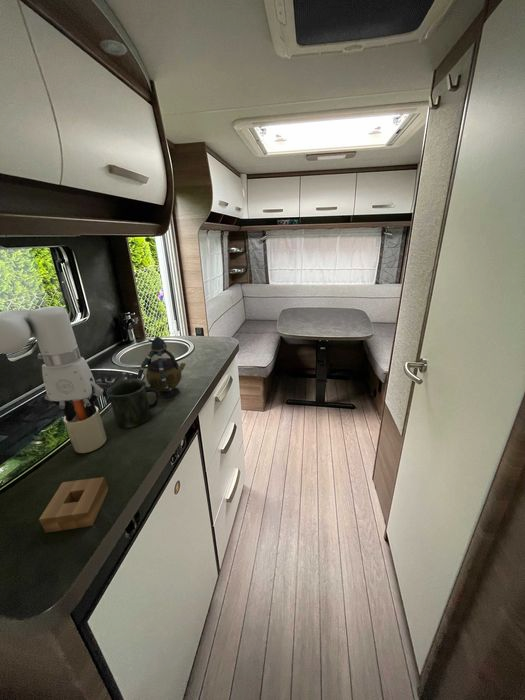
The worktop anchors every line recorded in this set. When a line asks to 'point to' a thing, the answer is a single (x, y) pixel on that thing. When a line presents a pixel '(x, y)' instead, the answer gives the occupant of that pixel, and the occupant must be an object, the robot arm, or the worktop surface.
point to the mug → (131, 402)
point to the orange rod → (80, 409)
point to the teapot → (162, 371)
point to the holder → (74, 505)
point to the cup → (86, 432)
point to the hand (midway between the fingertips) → (82, 416)
